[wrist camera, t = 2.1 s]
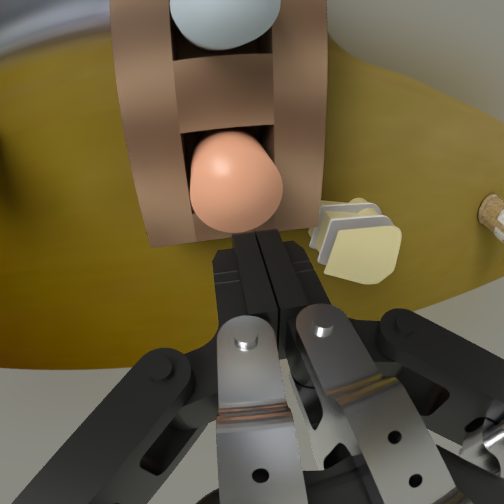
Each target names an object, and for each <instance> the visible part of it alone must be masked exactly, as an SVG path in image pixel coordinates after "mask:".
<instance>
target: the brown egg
mask: <svg viewBox="0 0 504 504" xmlns="http://www.w3.org/2000/svg"><path fill="white" fill-rule="evenodd" d="M282 194H283V183H282V178H281V175H280V173H279V171H278V169H277V167H276V166H275V164H274V163H273V161H272V160H271V159H270V157H269V156H268V154H267V153H266V151H265V150H264V148H263V147H262V146H261V144H260V143H259V141H258V140H257V139H256V137H255V136H254V135H253V134H252V133H251V132H249V131H248V130H246V129H244V128H242V127H231V128H220V129H211V130H209V131H207V132H206V133H205V134H204V135H202V136H201V138H200V139H199V140H198V141H197V143H196V145H195V147H194V149H193V153H192V163H191V181H190V200H191V204H192V207H193V209H194V211H195V213H196V215H197V216H198V217H199V218H200V219H201V220H202V221H203V222H204V223H205V224H206V225H208V226H210V227H211V228H213V229H216V230H219V231H222V232H228V233H238V232H245V231H248V230H252V229H254V228H256V227H258V226H260V225H262V224H263V223H265V222H266V221H267V220H268V219H269V218H270V217H271V216H272V215H273V214H274V213H275V211H276V210H277V208H278V206H279V204H280V202H281V198H282Z"/></svg>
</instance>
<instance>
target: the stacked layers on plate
mask: <svg viewBox="0 0 504 504" xmlns="http://www.w3.org/2000/svg"><path fill="white" fill-rule="evenodd" d="M308 233H309V235H310V237H311V241H310V244H309V246H310V247H311V248H313V249H316V250H318V251H319V256H318V259H317V261H318V263H320V264H323V265H326V268H325V271H324V274H327V275H331V276H335V277H338V278H342V279H346V280H350V281H354V282H358V283H361V284H378V283H379V282H381V281H382V280H383V279H384V278H386V277H387V276H388V275H390V274H391V273H392V272H393V271H394V269H395V265H396V261H397V257H398V252H399V248H400V243H401V238H402V235H401V231H400V229H399V228H398V227H396V226H393V223H392V221H391V220H390V219H389V218H388V217H387V216H384V215H382V213H381V210H380V208H379V207H378V206H377V205H375V204H373V203H368V202H367V201H366V200H365V199H363V198H355V199H353V200H351V201H350V202H349V203H345V202H334V201H323V200H321V203H320V213H319V223H318V227H313V228H309V231H308Z"/></svg>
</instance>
